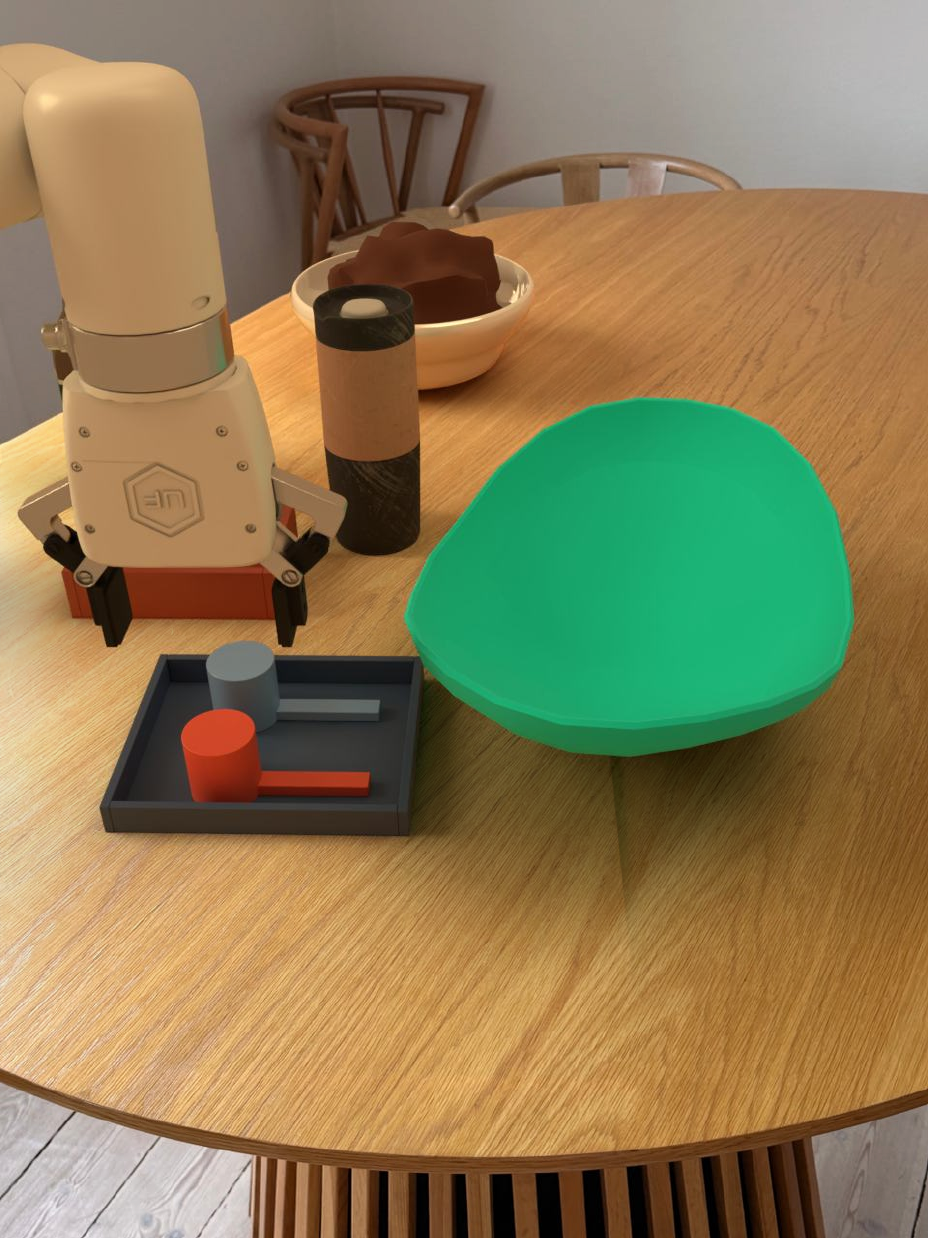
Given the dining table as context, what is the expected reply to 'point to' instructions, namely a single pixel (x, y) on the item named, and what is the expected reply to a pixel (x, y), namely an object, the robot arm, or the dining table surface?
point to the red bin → (192, 590)
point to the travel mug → (370, 413)
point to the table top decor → (640, 583)
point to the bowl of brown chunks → (434, 295)
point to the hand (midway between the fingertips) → (204, 633)
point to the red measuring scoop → (249, 764)
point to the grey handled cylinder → (271, 690)
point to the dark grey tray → (276, 752)
